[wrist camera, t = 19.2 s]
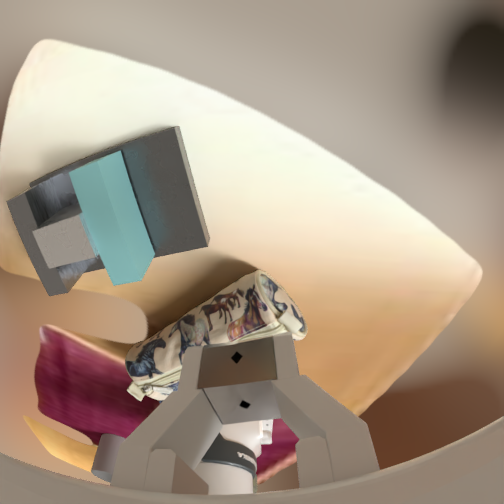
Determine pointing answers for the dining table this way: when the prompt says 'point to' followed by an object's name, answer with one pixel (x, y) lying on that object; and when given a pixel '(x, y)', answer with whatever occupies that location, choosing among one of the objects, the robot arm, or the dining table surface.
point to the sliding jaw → (113, 217)
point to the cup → (106, 456)
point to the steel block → (65, 238)
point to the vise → (146, 194)
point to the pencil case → (212, 331)
